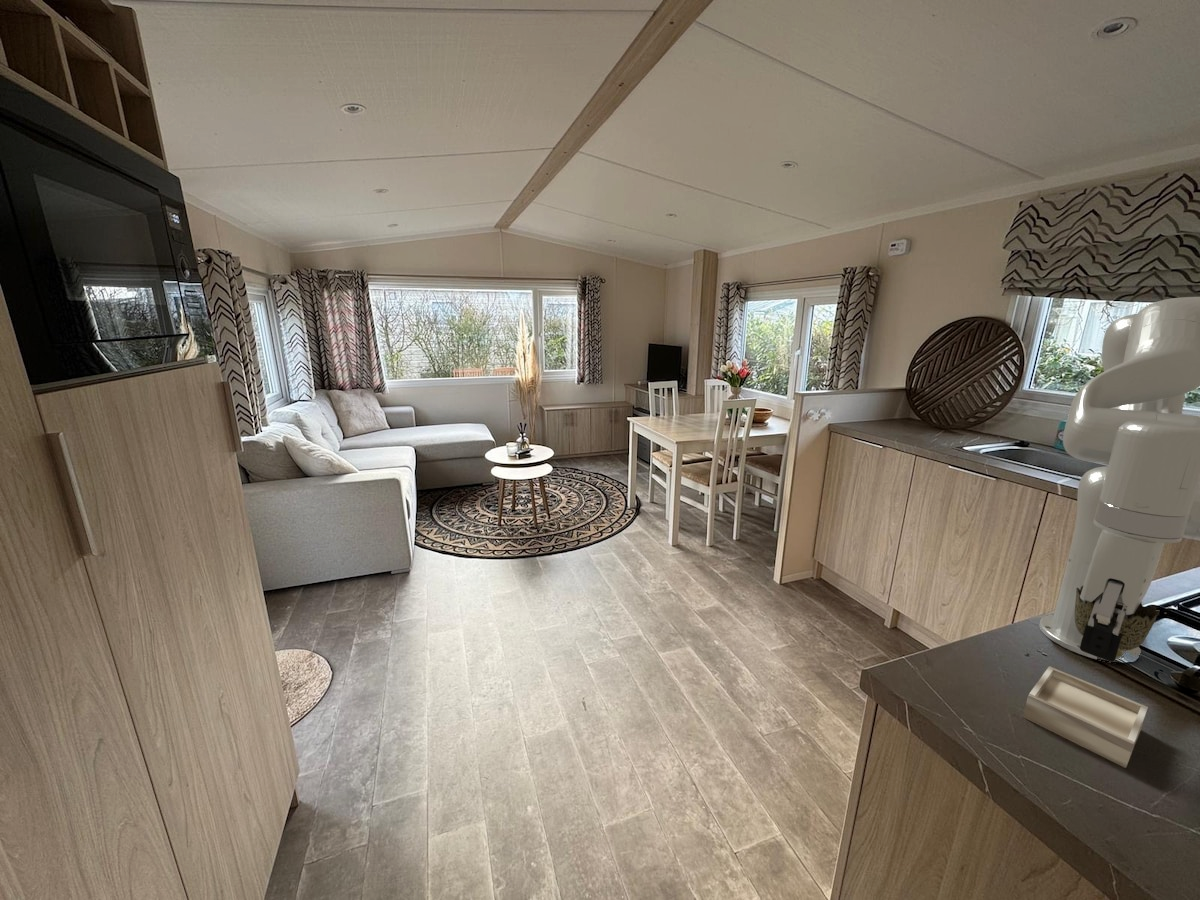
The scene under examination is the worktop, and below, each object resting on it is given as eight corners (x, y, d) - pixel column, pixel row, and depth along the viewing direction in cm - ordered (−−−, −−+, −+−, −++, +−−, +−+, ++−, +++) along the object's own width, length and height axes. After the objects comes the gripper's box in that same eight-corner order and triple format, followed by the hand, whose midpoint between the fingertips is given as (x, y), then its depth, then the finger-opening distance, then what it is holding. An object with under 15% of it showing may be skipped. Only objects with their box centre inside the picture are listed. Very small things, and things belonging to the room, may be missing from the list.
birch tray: (1044, 686, 74) (1049, 665, 73) (1140, 729, 66) (1148, 707, 65) (1022, 717, 69) (1028, 695, 68) (1125, 768, 61) (1133, 744, 60)
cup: (1159, 675, 60) (1177, 618, 58) (1090, 667, 62) (1106, 611, 60) (1111, 639, 67) (1126, 587, 65) (1050, 632, 69) (1063, 582, 67)
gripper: (1110, 497, 68) (1081, 610, 72) (1079, 526, 58) (1047, 655, 62) (1193, 513, 62) (1155, 635, 66) (1174, 548, 52) (1131, 689, 56)
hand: (1103, 643), depth 64 cm, fingers closed on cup, 6 cm apart
